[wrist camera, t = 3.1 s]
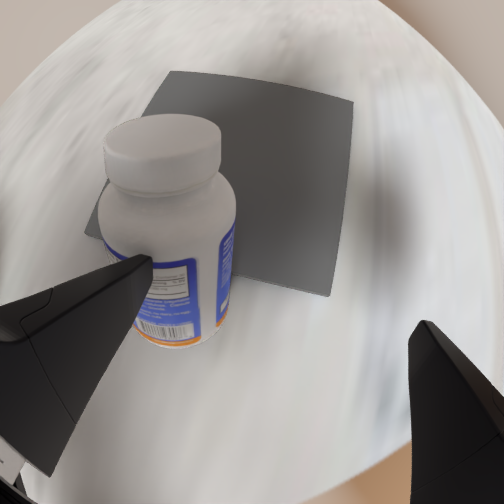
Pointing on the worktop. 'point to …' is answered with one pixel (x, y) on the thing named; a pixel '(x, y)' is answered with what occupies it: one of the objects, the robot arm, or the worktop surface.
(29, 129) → the worktop surface
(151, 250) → the pill bottle
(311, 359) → the worktop surface
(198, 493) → the worktop surface
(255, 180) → the rubber mat
